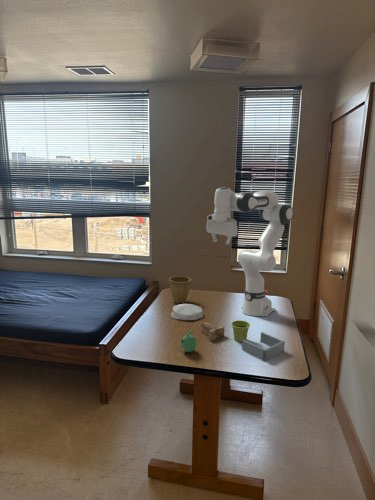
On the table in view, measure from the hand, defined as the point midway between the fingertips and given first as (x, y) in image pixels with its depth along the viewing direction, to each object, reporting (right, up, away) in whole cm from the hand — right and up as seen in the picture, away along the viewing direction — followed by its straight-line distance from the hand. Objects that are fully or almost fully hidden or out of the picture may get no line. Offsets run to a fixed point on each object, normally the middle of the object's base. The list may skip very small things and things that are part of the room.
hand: (221, 242), depth 186 cm
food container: (-19, -44, +23) cm, 53 cm away
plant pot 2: (+9, -51, -10) cm, 52 cm away
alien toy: (-18, -53, -23) cm, 60 cm away
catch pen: (+18, -53, -21) cm, 59 cm away
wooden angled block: (-6, -49, -5) cm, 50 cm away
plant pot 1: (-23, -39, +45) cm, 64 cm away
